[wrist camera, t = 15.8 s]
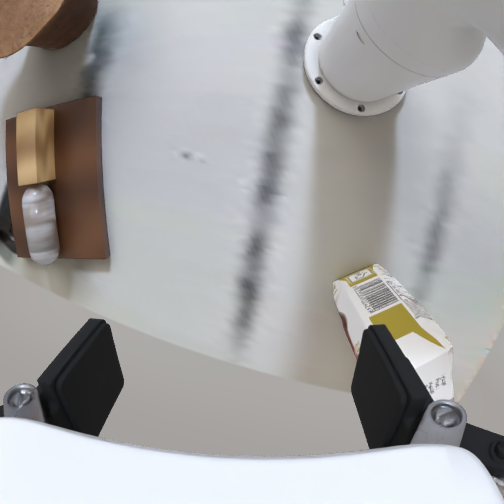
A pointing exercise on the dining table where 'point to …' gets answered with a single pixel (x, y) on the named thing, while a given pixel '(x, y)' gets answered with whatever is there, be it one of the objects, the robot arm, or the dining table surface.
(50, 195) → the wood and marble capsule
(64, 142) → the chopping board
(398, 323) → the juice carton
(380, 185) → the dining table surface
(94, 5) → the pitcher
